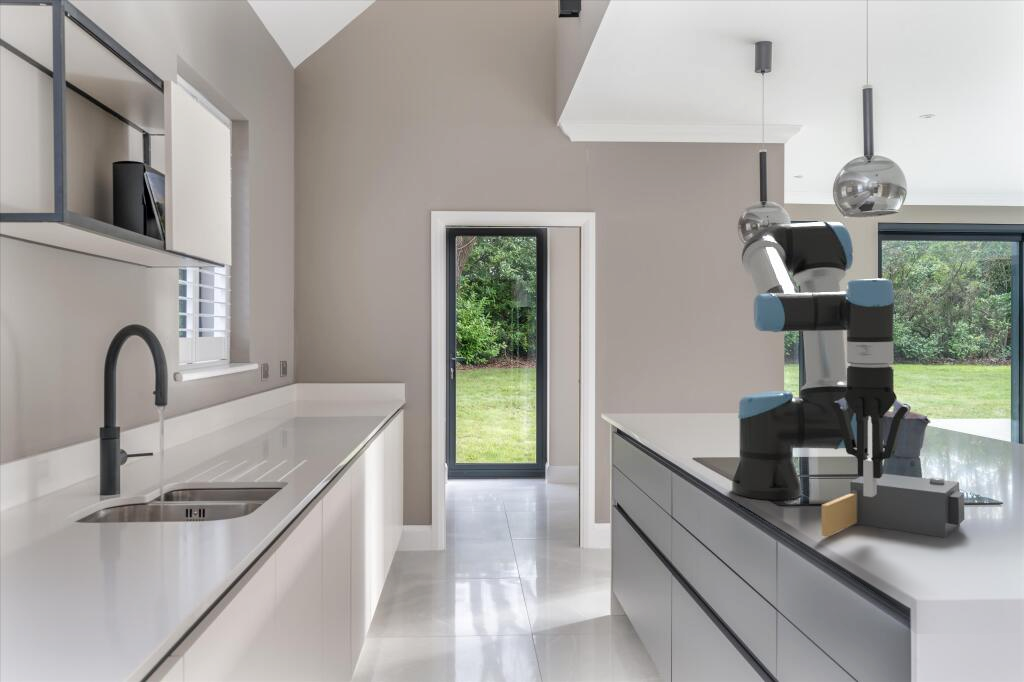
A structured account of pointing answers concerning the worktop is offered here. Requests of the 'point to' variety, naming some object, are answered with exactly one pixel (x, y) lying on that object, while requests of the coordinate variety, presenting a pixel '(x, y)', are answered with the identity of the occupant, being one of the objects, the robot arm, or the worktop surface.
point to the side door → (840, 513)
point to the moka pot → (905, 445)
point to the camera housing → (911, 504)
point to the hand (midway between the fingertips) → (870, 494)
